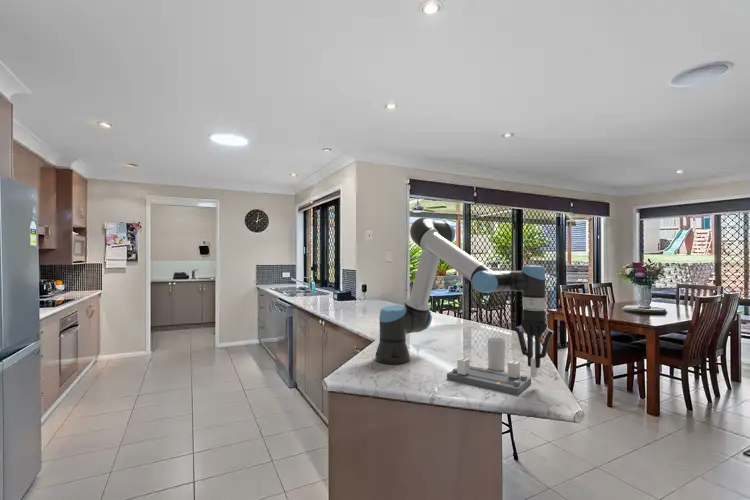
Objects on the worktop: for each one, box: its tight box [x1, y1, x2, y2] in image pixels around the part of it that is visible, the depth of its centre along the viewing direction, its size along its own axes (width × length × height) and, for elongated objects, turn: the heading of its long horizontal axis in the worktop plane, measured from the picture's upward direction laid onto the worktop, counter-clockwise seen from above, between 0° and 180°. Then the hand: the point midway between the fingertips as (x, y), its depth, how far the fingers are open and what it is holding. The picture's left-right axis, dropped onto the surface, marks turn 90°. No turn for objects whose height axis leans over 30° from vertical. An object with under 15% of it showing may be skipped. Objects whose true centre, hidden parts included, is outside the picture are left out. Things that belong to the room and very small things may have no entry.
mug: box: [487, 337, 506, 372], centre depth 156 cm, size 10×7×12 cm, turn 162°
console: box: [446, 365, 532, 396], centre depth 138 cm, size 26×15×3 cm, turn 52°
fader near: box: [456, 357, 471, 375], centre depth 140 cm, size 3×4×5 cm
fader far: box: [507, 360, 521, 378], centre depth 137 cm, size 3×4×5 cm
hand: (534, 376), depth 132 cm, fingers closed
